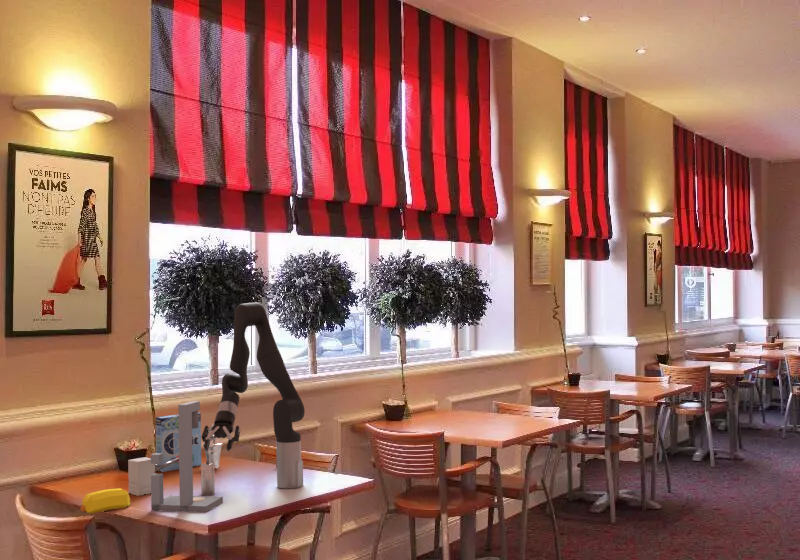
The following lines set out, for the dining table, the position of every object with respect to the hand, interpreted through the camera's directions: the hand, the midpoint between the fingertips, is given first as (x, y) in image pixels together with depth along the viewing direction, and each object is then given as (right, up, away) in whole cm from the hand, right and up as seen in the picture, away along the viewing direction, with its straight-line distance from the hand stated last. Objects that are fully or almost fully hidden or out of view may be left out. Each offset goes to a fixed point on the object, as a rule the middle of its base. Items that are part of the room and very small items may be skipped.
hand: (217, 449), depth 328 cm
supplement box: (-27, -15, -7) cm, 31 cm away
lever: (-12, -2, -24) cm, 26 cm away
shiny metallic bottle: (-1, -14, -11) cm, 18 cm away
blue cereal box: (-25, -16, +41) cm, 51 cm away
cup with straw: (-10, -16, +40) cm, 44 cm away
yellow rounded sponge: (-32, -15, -31) cm, 47 cm away
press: (-4, -14, -30) cm, 33 cm away
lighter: (+21, -15, +40) cm, 47 cm away
